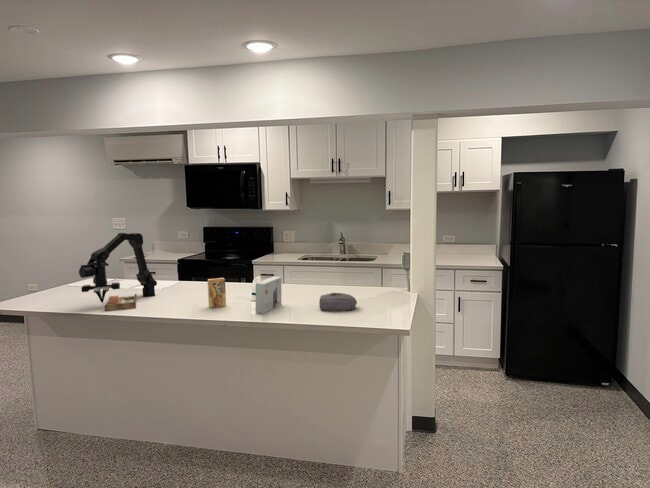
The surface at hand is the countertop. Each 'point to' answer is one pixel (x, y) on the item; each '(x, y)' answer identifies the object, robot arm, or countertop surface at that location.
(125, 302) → the trap board
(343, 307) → the small grey backpack
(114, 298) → the block
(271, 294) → the skincare box
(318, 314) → the countertop surface
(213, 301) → the candy box
